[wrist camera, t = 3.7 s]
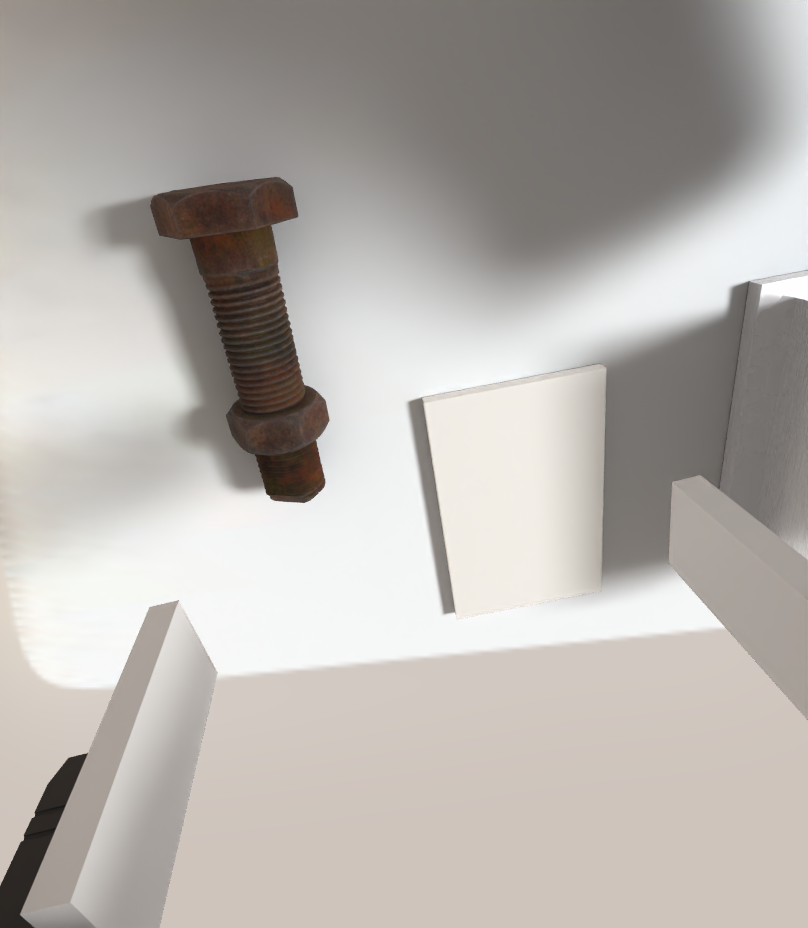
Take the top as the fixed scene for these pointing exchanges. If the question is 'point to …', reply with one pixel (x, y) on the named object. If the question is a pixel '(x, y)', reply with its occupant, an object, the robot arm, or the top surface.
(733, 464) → the block
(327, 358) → the top surface
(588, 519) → the mat
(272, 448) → the bolt
